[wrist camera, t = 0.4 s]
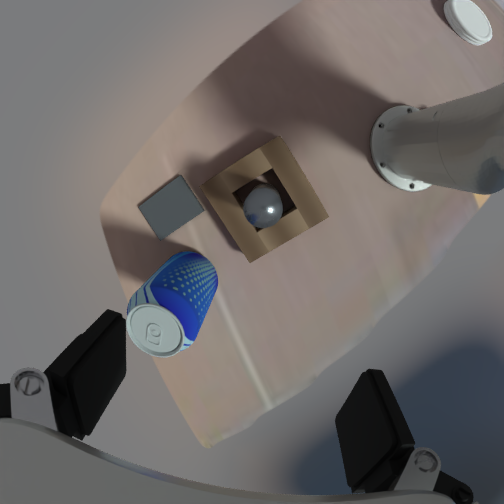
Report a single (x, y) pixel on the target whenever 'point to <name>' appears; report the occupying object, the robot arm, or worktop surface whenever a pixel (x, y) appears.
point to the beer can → (172, 305)
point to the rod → (263, 206)
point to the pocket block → (231, 207)
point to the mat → (171, 207)
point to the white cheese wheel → (468, 21)
